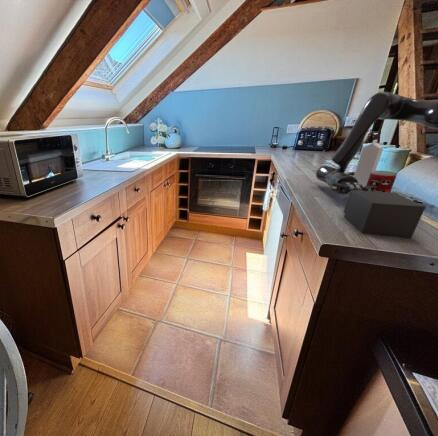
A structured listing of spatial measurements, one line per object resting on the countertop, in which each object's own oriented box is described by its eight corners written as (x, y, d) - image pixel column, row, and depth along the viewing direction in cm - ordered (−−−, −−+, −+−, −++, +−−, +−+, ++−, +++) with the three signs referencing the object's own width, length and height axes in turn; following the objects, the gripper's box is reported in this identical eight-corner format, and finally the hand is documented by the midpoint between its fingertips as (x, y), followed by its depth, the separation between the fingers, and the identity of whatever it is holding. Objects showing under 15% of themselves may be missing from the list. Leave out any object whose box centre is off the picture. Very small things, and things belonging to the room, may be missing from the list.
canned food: (358, 197, 104) (366, 171, 100) (370, 194, 106) (378, 169, 102) (379, 202, 97) (389, 175, 93) (391, 199, 100) (401, 173, 95)
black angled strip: (339, 208, 89) (345, 187, 86) (373, 210, 86) (381, 189, 83) (359, 225, 75) (367, 201, 72) (401, 229, 72) (412, 205, 69)
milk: (350, 187, 118) (364, 139, 110) (354, 185, 122) (369, 139, 113) (365, 189, 114) (382, 140, 105) (370, 187, 117) (386, 139, 109)
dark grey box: (343, 216, 84) (352, 190, 80) (385, 220, 80) (396, 192, 77) (361, 233, 72) (372, 202, 68) (411, 238, 68) (425, 206, 65)
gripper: (326, 173, 101) (341, 182, 86) (364, 174, 97) (388, 185, 82) (321, 190, 104) (336, 202, 89) (358, 192, 100) (380, 206, 85)
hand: (361, 194), depth 86 cm, fingers closed
